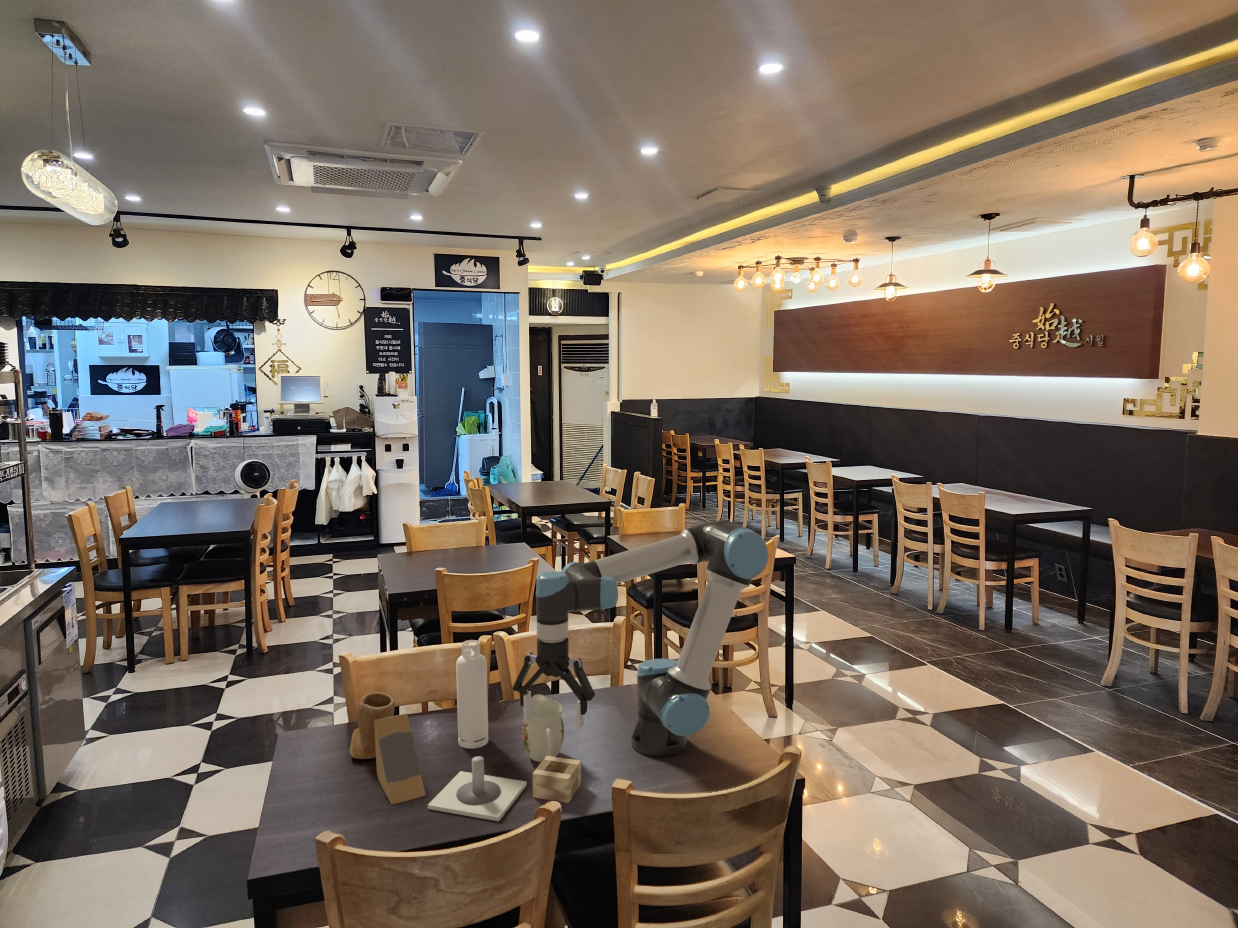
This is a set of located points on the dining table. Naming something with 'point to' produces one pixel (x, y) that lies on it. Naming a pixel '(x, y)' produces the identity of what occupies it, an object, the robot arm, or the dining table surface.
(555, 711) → the pitcher
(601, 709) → the dining table surface
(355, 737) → the tan boot
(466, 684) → the bottle
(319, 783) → the dining table surface
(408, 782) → the sandwich container
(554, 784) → the collar
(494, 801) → the post stand
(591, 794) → the dining table surface
